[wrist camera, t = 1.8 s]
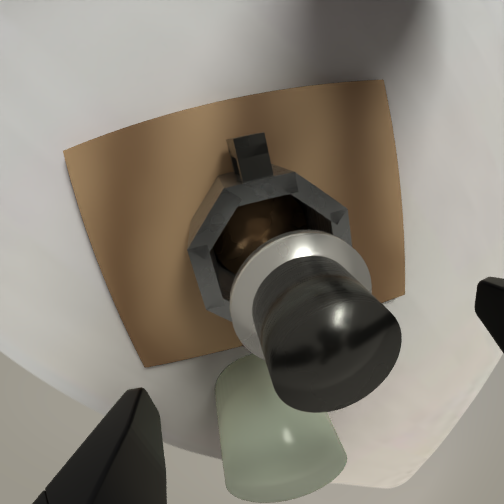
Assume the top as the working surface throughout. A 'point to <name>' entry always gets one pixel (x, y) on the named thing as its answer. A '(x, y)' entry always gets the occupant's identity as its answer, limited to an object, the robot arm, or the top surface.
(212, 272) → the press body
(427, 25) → the top surface
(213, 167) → the walnut board
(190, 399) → the top surface
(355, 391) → the plunger
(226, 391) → the sage mug
